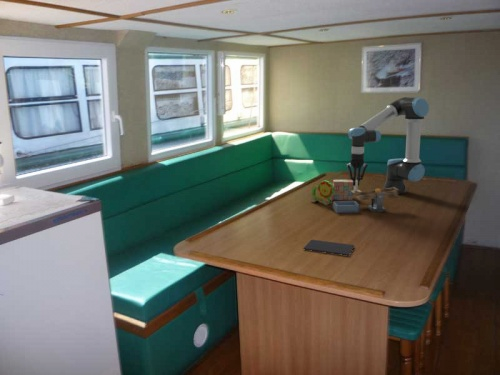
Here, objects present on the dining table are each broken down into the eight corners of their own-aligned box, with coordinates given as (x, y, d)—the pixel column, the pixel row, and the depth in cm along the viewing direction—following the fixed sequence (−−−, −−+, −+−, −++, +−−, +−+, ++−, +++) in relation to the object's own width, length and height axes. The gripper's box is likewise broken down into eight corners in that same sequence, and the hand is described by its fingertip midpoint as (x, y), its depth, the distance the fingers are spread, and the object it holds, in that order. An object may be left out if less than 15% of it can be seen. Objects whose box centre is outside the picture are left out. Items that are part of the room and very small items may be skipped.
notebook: (303, 251, 212) (348, 257, 203) (303, 248, 212) (348, 254, 203) (311, 242, 223) (354, 248, 215) (311, 239, 223) (355, 245, 214)
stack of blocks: (319, 199, 300) (320, 181, 297) (319, 197, 306) (319, 179, 303) (352, 199, 298) (353, 181, 295) (351, 197, 304) (352, 179, 301)
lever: (389, 191, 287) (388, 183, 286) (399, 197, 270) (398, 189, 269) (351, 196, 286) (351, 188, 285) (359, 203, 270) (359, 195, 268)
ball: (374, 193, 274) (379, 193, 274) (376, 194, 271) (381, 194, 271) (374, 187, 273) (380, 187, 274) (376, 189, 270) (382, 189, 270)
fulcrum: (379, 206, 280) (380, 189, 278) (386, 211, 270) (387, 193, 267) (367, 207, 280) (367, 189, 277) (373, 212, 269) (373, 194, 267)
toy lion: (309, 202, 294) (310, 179, 290) (314, 200, 298) (315, 177, 294) (330, 206, 283) (331, 182, 280) (335, 204, 287) (336, 181, 284)
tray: (354, 207, 279) (354, 200, 278) (359, 212, 269) (359, 205, 268) (332, 208, 278) (332, 201, 277) (336, 213, 268) (337, 205, 267)
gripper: (366, 152, 281) (364, 189, 287) (345, 152, 281) (343, 189, 286) (370, 154, 274) (367, 192, 279) (348, 154, 273) (347, 192, 279)
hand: (355, 190), depth 283 cm, fingers closed
